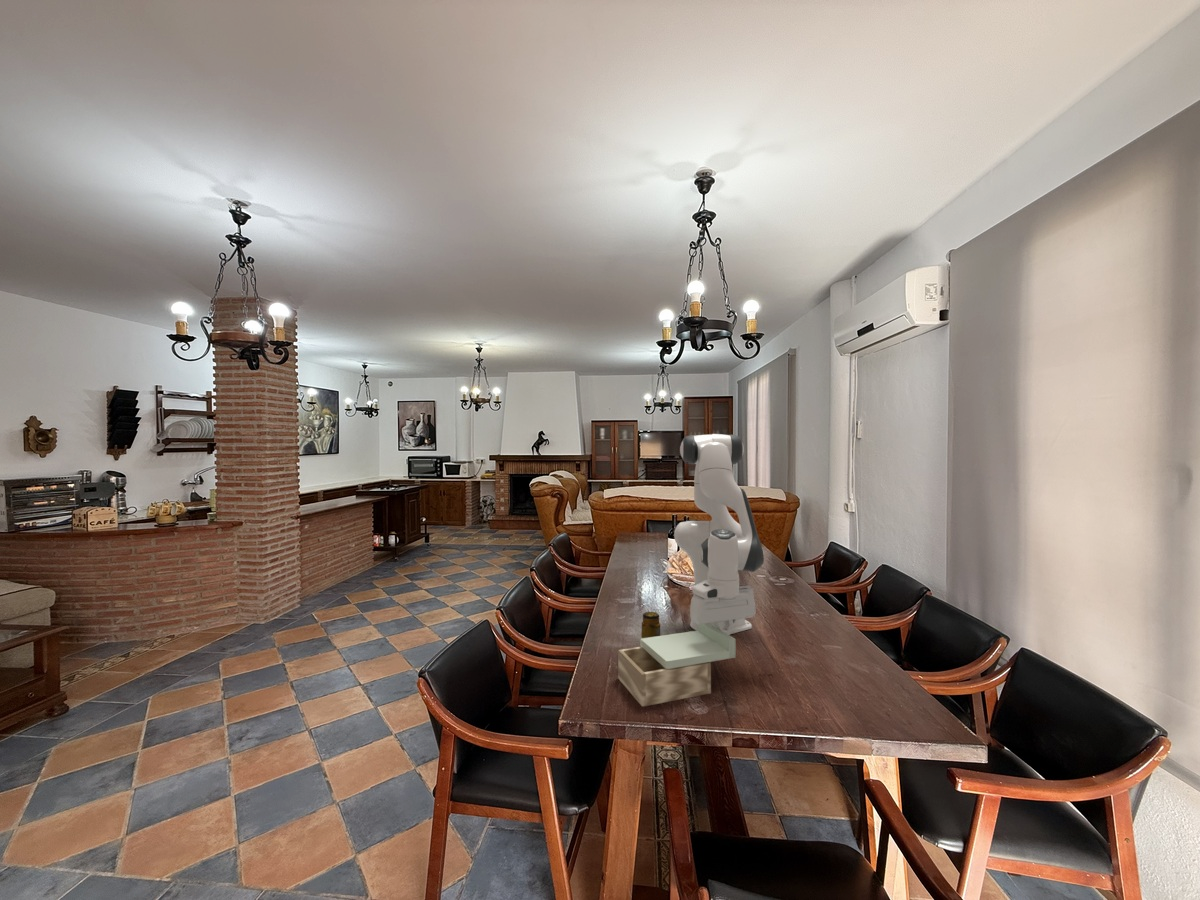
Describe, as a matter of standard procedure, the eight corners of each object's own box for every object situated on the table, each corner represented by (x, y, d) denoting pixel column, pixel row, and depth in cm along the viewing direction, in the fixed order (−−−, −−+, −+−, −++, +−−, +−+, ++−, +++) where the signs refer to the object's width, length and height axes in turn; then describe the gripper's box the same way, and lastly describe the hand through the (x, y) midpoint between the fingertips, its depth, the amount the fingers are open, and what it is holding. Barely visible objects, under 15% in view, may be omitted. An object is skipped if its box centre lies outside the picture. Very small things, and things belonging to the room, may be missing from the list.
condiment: (653, 645, 156) (653, 609, 156) (669, 654, 148) (669, 616, 149) (635, 650, 152) (635, 613, 152) (650, 659, 145) (650, 620, 145)
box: (680, 667, 139) (680, 640, 139) (710, 693, 124) (710, 662, 124) (618, 678, 132) (618, 650, 132) (642, 706, 117) (642, 674, 117)
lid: (703, 636, 142) (703, 619, 142) (735, 657, 127) (735, 638, 127) (640, 645, 135) (640, 628, 135) (666, 669, 120) (666, 649, 120)
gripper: (746, 581, 142) (746, 627, 141) (687, 587, 135) (687, 636, 134) (760, 586, 136) (760, 634, 135) (699, 593, 129) (699, 644, 128)
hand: (723, 635), depth 135 cm, fingers closed
